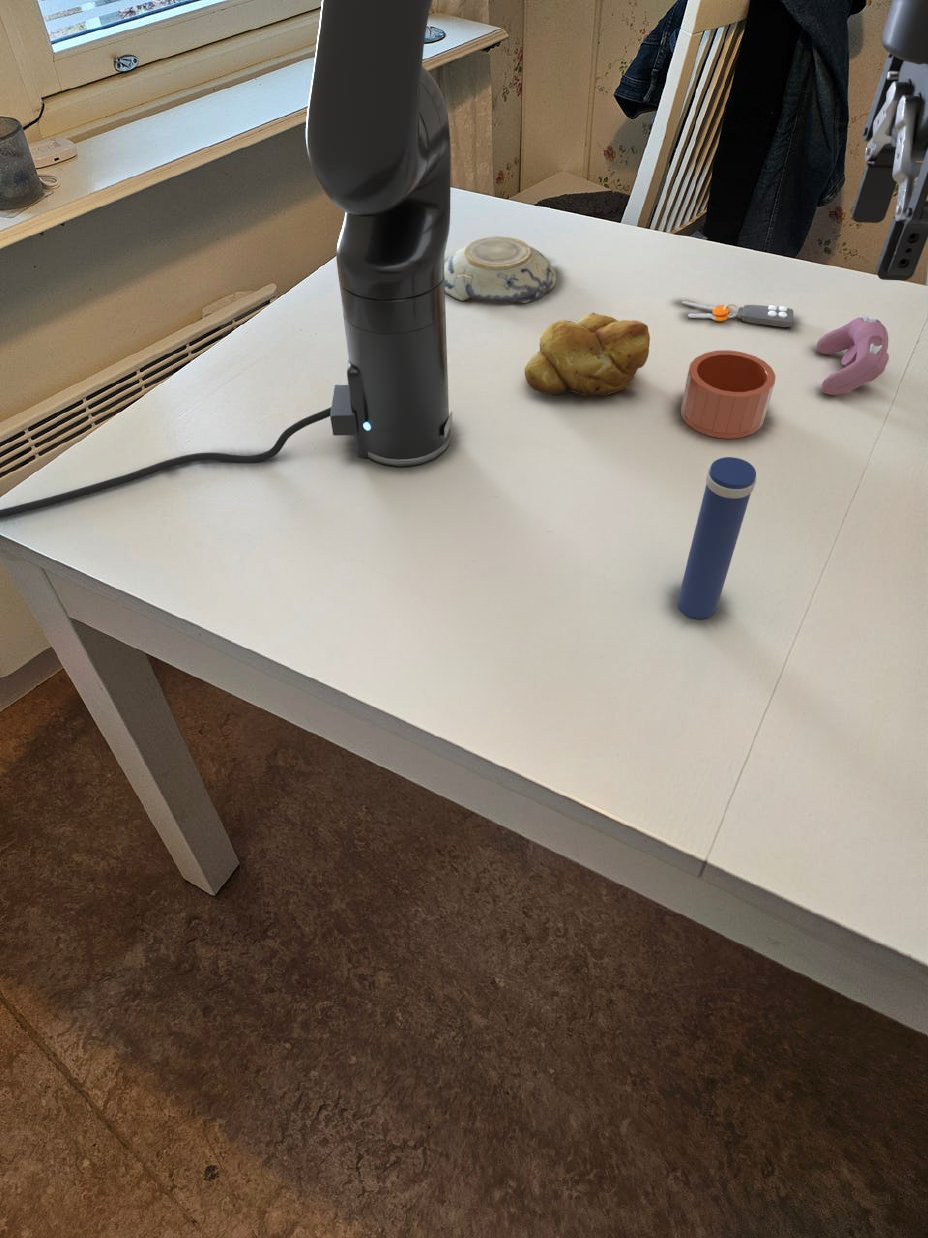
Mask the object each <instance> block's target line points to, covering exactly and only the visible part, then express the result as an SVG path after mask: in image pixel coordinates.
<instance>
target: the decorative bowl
mask: <svg viewBox="0 0 928 1238" xmlns="http://www.w3.org/2000/svg"><path fill="white" fill-rule="evenodd" d="M554 269H555V268H553V266H552V264H551V262H550V261H549V260H548V258H547V257H546V256H545V255H543V253H542V252H540V251H539V250H538V249H537V248H534V247H533V246H530V245H529V244H528V243H526V242H525V241H524V240H521V239H519V238H515V237H509V236H488V237H482V238H478V239H477V240H474V241H472V242H470V243H469V244H468V245H465V246H463V247H462V248H461V249H458V250H457V251H455V252H453V254H452V255H450V256H449V257H448V258H447V259H446V261H445V262H444V278H445V293H446V294H448V296H451V297H453V298H455V299H456V300H458V301H461V302H464V301H466V300H468V299H471V298H472V299H481V300H488V301H496V302H497V301H501V302H503V301H507V302H509V301H511V302H518V303H522V304H528V303H530V302H533V301H536V300H538V299H540V298H543V297H544V296H545V293H548V292H550V291H551V290H553V289H554V287H555V285H556V282H557V274H556V271H555V270H554Z"/></svg>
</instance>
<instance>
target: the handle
mask: <svg viewBox="0 0 928 1238" xmlns="http://www.w3.org/2000/svg"><path fill="white" fill-rule="evenodd" d="M705 482H706V484H705V488H704V491H703V496H702V500H701V504H700V507H699V513H698V515H697V516H698V517H697V521H696V525H695V528H694V531H693V536H692V541H691V545H690V548H689V552H688V557H687V561H686V566H685V569H684V574H683V578H682V582H681V585H680V590H679V594H678V597H677V607H678V609H679V610H680V612H681V613H682V614H684V615H685V616H686V617H689V618H691V619H695V620H705V619H709V618H711V617H713V615H715V614H716V611H717V610H718V606H719V602H720V599H721V595H722V592H723V589H724V585H725V582H726V580H727V575H728V573H729V570H730V569H729V568H730V565H731V562H732V559H733V555H734V551H735V549H736V545H737V541H738V538H739V536H740V531H741V528H742V524H743V521H744V518H745V515H746V511H747V507H748V504H749V501H750V498H751V495H752V492H753V491H754V489H755V485H756V483H757V471H756V469H755V467H754V466H753V464H751V463H750V462H748V461H747V460H744V459H742V458H739V457H732V456H726V457H725V456H724V457H720V458H717V459H716V460H713V462H712V463H711V465H710V467H709V468H708V469H707V474H706V477H705Z"/></svg>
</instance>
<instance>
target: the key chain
mask: <svg viewBox="0 0 928 1238" xmlns="http://www.w3.org/2000/svg"><path fill="white" fill-rule="evenodd" d="M681 304H684V305H688V306H690V307H696V308H701V309H704V310H710V311H712V313H710V312H708V313H705V312H704V313H703V312H700V313H699V312H697V313H693V312H691V313H688V316H687V317H688V318H689V319H711V320H713V321H714V322H725V321H727V320H728V319H731V318H732V319H733V318H736V317H737V319H740V320H742V321H743V322H746V323H749V324H750V323H752V324H757V325H764V326H773V327H779V328H780V327H782V328H790V327H792V326H793V322H794V310H793V308H790V307H786V306H784V305H781V306H777V305H774V304H770V305H761V304H745V305H743V306H740V307H739V306H738V305H737V304H735V303H727V304H725V305H723V304H720V305H716V306H710V305H705V304H702V303H696V302H692V301H691V302H690V301H687V300H682V301H681ZM730 307H734V308H735V309H736V312H730V311H731V309H730Z"/></svg>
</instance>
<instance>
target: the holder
mask: <svg viewBox="0 0 928 1238" xmlns="http://www.w3.org/2000/svg"><path fill="white" fill-rule="evenodd" d="M688 367H689V368H688V372H687V377H686V381H685V387H684V391H683V396H682V402H681V407H680V415H681V417H682V419H683V421H684V422H685V424H687V425H688V426H689V427H690V428H691V429H692V430H694V431H696V432H698V433H700V434H702V435H704V436H705V435H706V436H708V437H713V438H717V439H726V440H729V439H731V440H734V439H741V438H745V437H748V436H751V435H753V434H755V433H757V431H759V430H760V429H761V428H762V426H763V423H764V421H765V418H766V414H767V412H768V408H769V404H770V401H771V398H772V393H773V390H774V387H775V383H776V373H775V371H774V369H773V368H772V366H771V365H769V364H768V363H767V362H766V361H765V360H763V359H761V358H760V357H757V356H755V355H753V354H750V353H746V352H743V351H738V350H730V349H729V350H728V349H726V350H723V349H722V350H713V351H708V352H705V353H702V354H700V355H698V356H696V357H695V358H693V360H692V361H691V362H690V363H689V366H688Z"/></svg>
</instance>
